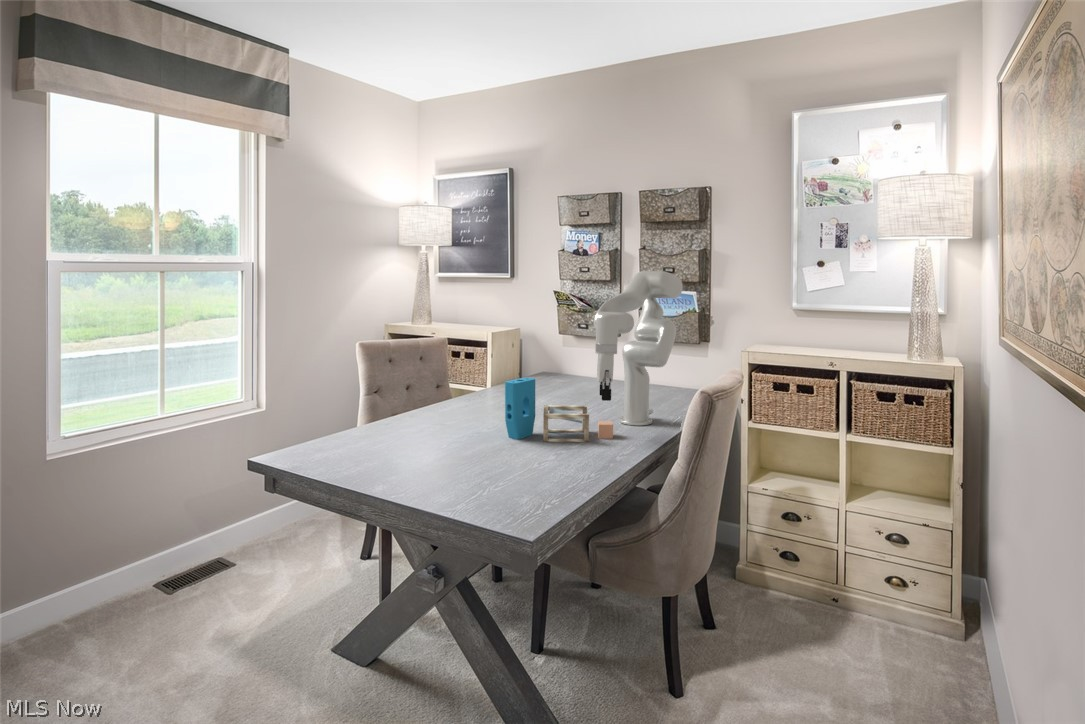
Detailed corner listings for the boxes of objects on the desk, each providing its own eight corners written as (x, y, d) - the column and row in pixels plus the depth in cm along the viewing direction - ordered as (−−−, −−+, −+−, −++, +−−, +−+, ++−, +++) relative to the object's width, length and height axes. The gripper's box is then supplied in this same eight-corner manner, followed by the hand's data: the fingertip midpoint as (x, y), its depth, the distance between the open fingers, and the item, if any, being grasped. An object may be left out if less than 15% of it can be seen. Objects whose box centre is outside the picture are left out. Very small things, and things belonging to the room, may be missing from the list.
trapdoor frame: (586, 431, 233) (586, 405, 231) (588, 441, 218) (589, 414, 217) (544, 430, 233) (544, 405, 231) (543, 441, 218) (543, 414, 217)
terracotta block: (611, 435, 228) (611, 421, 227) (612, 438, 223) (613, 424, 222) (597, 434, 228) (597, 421, 227) (598, 438, 223) (598, 424, 222)
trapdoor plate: (580, 416, 230) (581, 412, 230) (581, 423, 219) (582, 419, 219) (549, 409, 230) (550, 406, 229) (549, 416, 219) (550, 412, 219)
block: (515, 440, 220) (514, 383, 217) (504, 438, 223) (503, 381, 220) (536, 433, 229) (536, 378, 226) (525, 431, 232) (525, 377, 229)
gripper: (593, 346, 229) (592, 393, 231) (597, 351, 212) (596, 402, 214) (614, 346, 229) (613, 393, 231) (619, 352, 212) (618, 402, 214)
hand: (605, 397), depth 223 cm, fingers open, 9 cm apart
